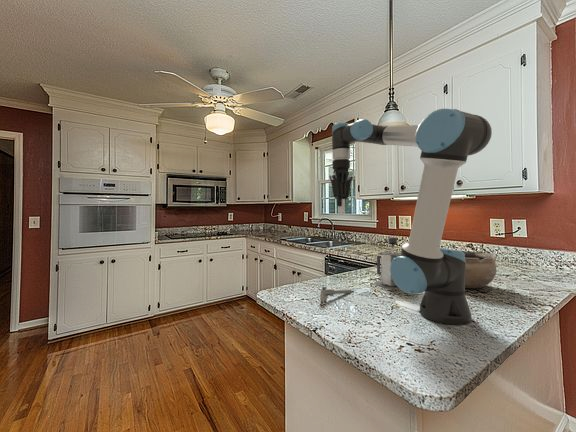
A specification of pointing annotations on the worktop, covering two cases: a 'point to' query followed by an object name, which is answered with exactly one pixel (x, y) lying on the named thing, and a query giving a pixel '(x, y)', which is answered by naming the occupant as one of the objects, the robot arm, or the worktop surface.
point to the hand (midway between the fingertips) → (341, 213)
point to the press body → (386, 267)
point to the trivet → (385, 286)
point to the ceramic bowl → (479, 269)
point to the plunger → (392, 242)
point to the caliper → (331, 293)
